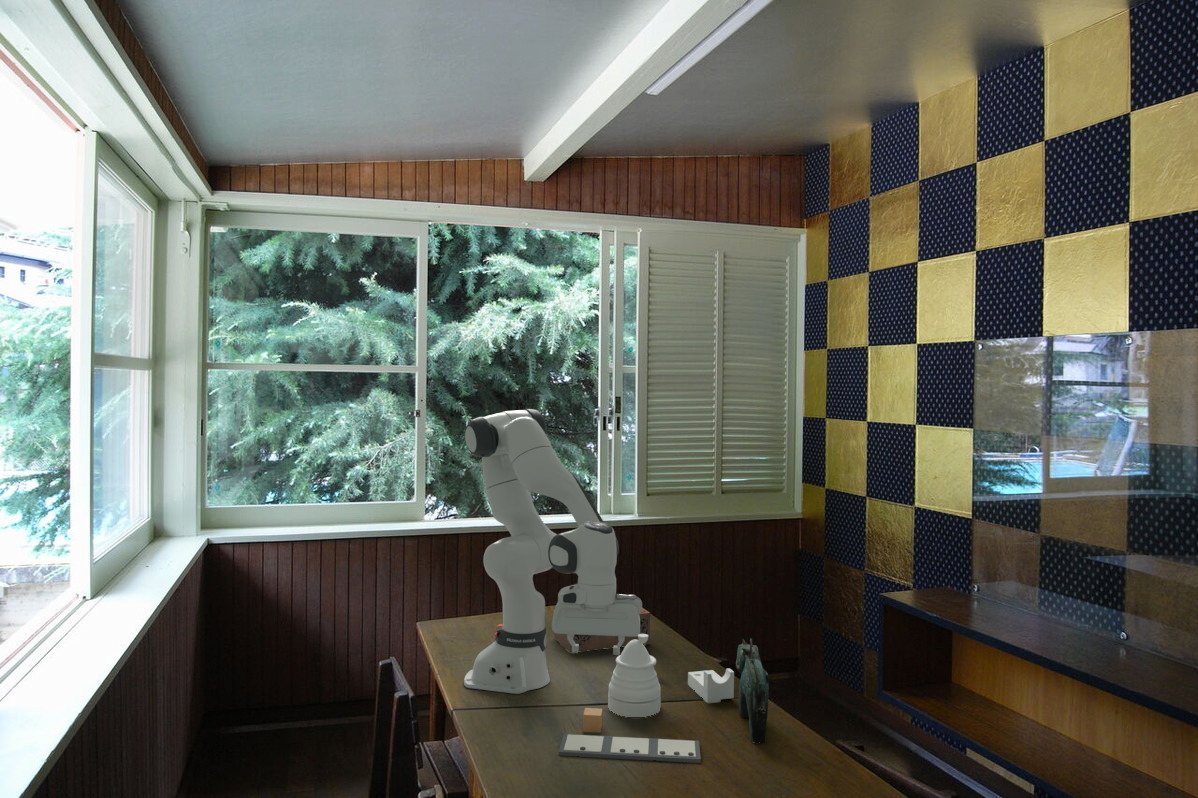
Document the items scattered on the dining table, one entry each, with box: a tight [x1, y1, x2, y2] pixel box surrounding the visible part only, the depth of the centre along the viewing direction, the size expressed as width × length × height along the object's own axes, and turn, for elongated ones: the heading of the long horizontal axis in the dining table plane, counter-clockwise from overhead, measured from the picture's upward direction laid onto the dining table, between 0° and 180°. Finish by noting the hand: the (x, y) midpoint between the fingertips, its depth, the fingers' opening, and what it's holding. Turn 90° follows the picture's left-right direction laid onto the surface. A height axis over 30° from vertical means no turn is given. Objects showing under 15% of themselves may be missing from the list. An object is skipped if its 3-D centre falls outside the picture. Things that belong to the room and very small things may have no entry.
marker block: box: [582, 707, 603, 734], centre depth 189 cm, size 4×4×4 cm
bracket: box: [687, 668, 735, 704], centre depth 212 cm, size 13×7×8 cm, turn 16°
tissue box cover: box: [553, 607, 651, 653], centre depth 252 cm, size 26×14×10 cm, turn 112°
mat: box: [558, 733, 702, 764], centre depth 178 cm, size 30×9×1 cm, turn 85°
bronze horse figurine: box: [735, 637, 770, 744], centre depth 191 cm, size 20×6×20 cm, turn 178°
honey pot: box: [607, 634, 662, 718], centre depth 201 cm, size 13×13×18 cm
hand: (595, 653), depth 188 cm, fingers open, 8 cm apart
